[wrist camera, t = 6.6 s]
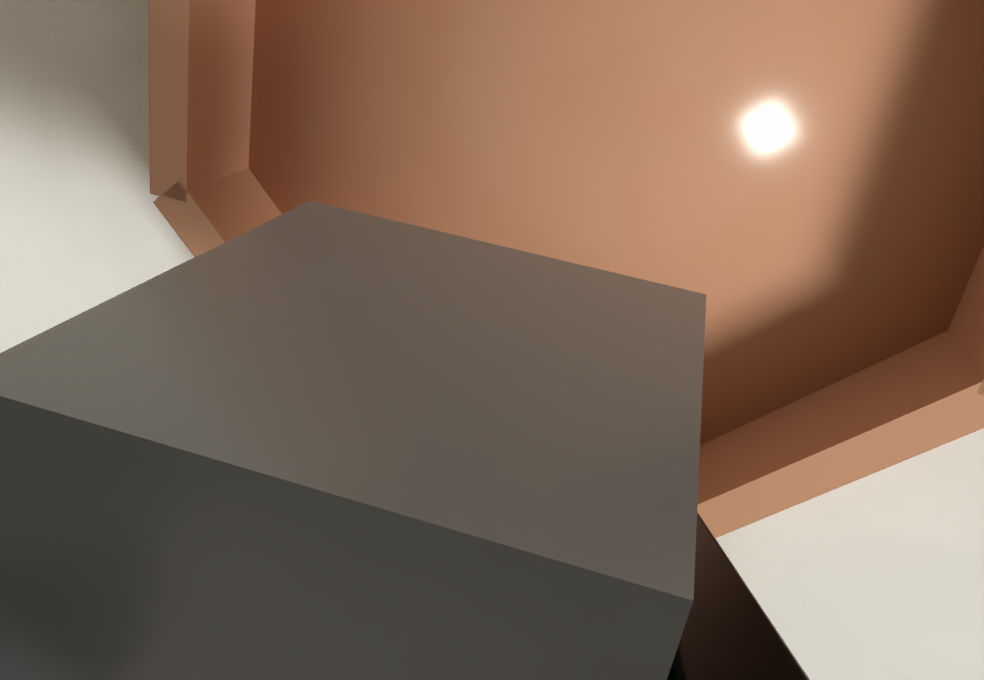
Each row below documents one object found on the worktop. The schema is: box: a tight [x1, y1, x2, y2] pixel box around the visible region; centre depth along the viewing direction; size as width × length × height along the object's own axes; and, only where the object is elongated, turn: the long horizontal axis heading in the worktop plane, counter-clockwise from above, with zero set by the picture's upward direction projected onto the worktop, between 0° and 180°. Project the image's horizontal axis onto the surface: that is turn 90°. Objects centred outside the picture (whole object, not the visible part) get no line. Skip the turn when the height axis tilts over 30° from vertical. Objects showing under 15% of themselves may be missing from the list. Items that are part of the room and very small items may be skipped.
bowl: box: [149, 0, 984, 538], centre depth 15 cm, size 16×16×3 cm
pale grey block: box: [0, 201, 706, 680], centre depth 8 cm, size 4×4×5 cm
